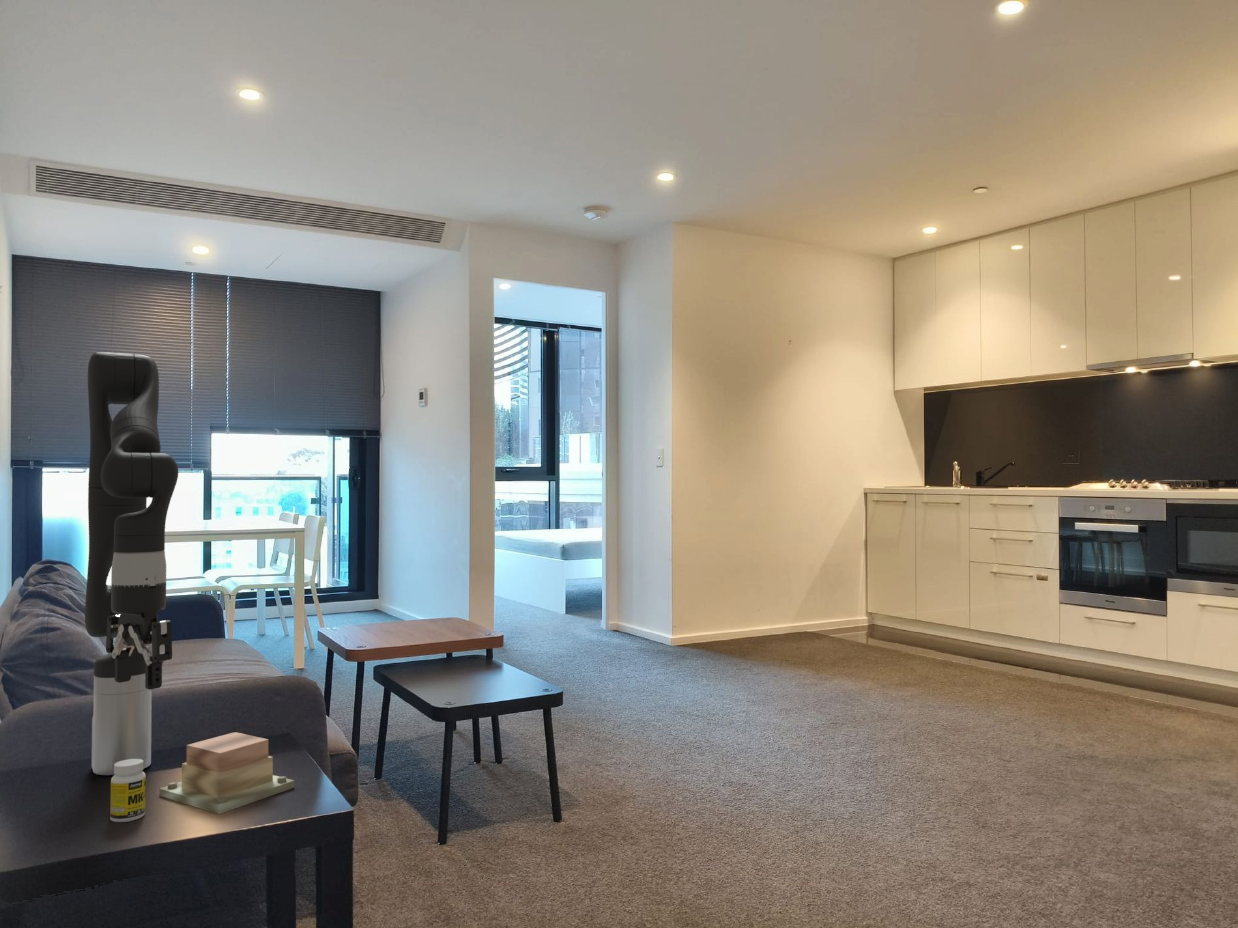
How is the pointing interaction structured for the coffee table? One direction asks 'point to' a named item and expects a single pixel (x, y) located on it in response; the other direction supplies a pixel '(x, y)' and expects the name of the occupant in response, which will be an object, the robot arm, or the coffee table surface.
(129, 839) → the coffee table surface
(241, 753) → the stepped pedestal block
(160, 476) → the robot arm
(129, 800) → the supplement bottle
